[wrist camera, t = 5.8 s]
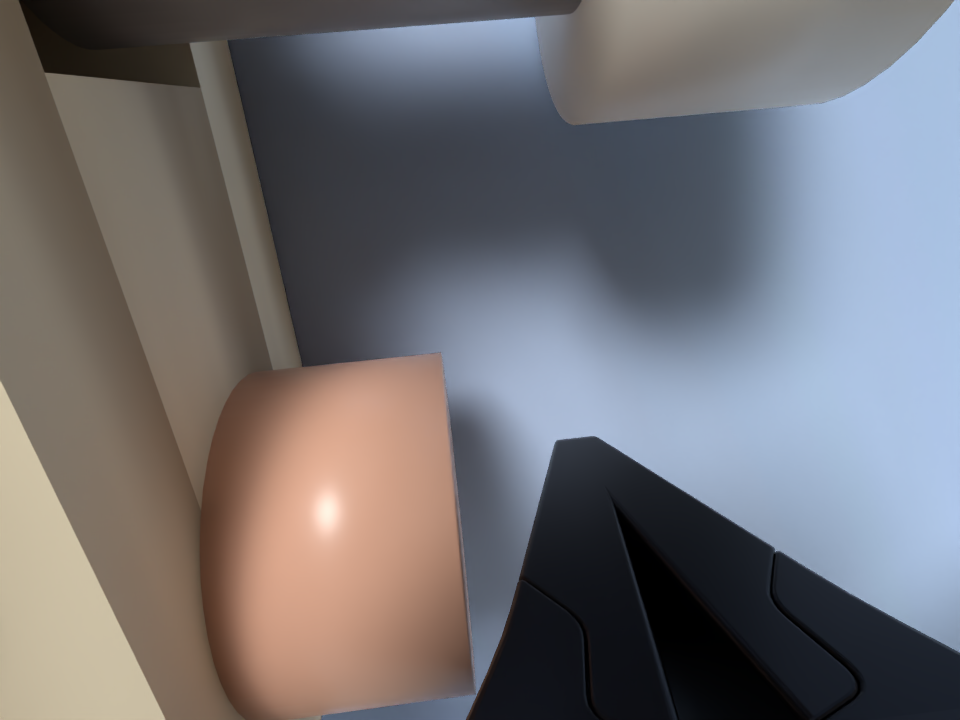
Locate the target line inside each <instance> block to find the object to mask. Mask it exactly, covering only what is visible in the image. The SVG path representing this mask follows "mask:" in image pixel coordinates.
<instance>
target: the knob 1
mask: <svg viewBox="0 0 960 720" xmlns="http://www.w3.org/2000/svg"><path fill="white" fill-rule="evenodd" d="M200 577H201V590H202V601H203V611H204V617H205V623H206V630H207V636H208V641H209V645H210V649H211V653H212V657H213V662H214V665H215V668H216V671H217V674H218V677H219V680H220V683H221V685H222V687H223V689H224V691H225V693H226V695H227V697H228V699H229V701H230V703H231V704H232V705H233V707H234V708H235V710H236V711H237V713H238V714H240V715H241V716H242V717H243V718H244V719H245V720H292V719H299V718H306V717H314V716H321V715H328V714H336V713H343V712H350V711H358V710H365V709H372V708H380V707H387V706H394V705H402V704H409V703H416V702H424V701H431V700H438V699H446V698H453V697H461V696H468V695H475V694H476V686H475V670H474V656H473V644H472V632H471V620H470V609H469V598H468V588H467V577H466V566H465V556H464V546H463V536H462V526H461V516H460V506H459V496H458V487H457V477H456V468H455V459H454V450H453V441H452V432H451V423H450V414H449V406H448V397H447V389H446V381H445V374H444V366H443V360H442V354H441V352H440V353H430V354H421V355H411V356H402V357H392V358H383V359H373V360H364V361H354V362H345V363H335V364H326V365H316V366H307V367H297V368H288V369H278V370H269V371H259V372H254V373H251V374H248V375H247V376H246V377H244V378H243V379H242V380H240V382H239V383H238V384H237V385H236V386H235V388H234V389H233V390H232V392H231V394H230V396H229V397H228V399H227V401H226V402H225V405H224V407H223V410H222V412H221V414H220V417H219V419H218V422H217V426H216V429H215V432H214V435H213V439H212V443H211V447H210V452H209V456H208V461H207V467H206V473H205V480H204V486H203V496H202V507H201V518H200Z"/></svg>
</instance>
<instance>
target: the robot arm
mask: <svg viewBox="0 0 960 720" xmlns="http://www.w3.org/2000/svg"><path fill="white" fill-rule="evenodd" d="M466 720H960V653H959V652H957V651H955V650H953V649H952V648H950V647H948V646H946V645H944V644H942V643H940V642H938V641H937V640H935V639H933V638H931V637H929V636H927V635H925V634H923V633H921V632H920V631H918V630H916V629H914V628H912V627H910V626H908V625H906V624H904V623H903V622H901V621H899V620H897V619H895V618H893V617H892V616H890V615H888V614H886V613H884V612H883V611H881V610H879V609H877V608H875V607H873V606H872V605H870V604H868V603H866V602H864V601H863V600H861V599H859V598H857V597H855V596H853V595H852V594H850V593H848V592H846V591H845V590H843V589H841V588H840V587H838V586H836V585H835V584H833V583H831V582H830V581H828V580H826V579H825V578H823V577H821V576H820V575H818V574H816V573H815V572H813V571H811V570H810V569H808V568H806V567H805V566H803V565H801V564H800V563H798V562H797V561H795V560H793V559H792V558H790V557H789V556H787V555H785V554H784V553H782V552H780V551H777V552H775V549H774V547H772V546H771V545H769V544H767V543H766V542H764V541H763V540H761V539H759V538H758V537H756V536H755V535H753V534H751V533H750V532H748V531H747V530H745V529H743V528H742V527H740V526H739V525H737V524H735V523H734V522H732V521H731V520H729V519H727V518H726V517H724V516H723V515H721V514H719V513H718V512H716V511H715V510H713V509H711V508H710V507H708V506H707V505H705V504H703V503H702V502H700V501H699V500H697V499H695V498H694V497H692V496H691V495H689V494H687V493H686V492H684V491H683V490H681V489H679V488H678V487H676V486H675V485H673V484H671V483H670V482H668V481H667V480H665V479H663V478H662V477H660V476H659V475H657V474H655V473H654V472H652V471H651V470H649V469H647V468H646V467H644V466H643V465H641V464H639V463H638V462H636V461H635V460H633V459H631V458H630V457H628V456H627V455H625V454H623V453H622V452H620V451H619V450H617V449H615V448H614V447H612V446H611V445H609V444H607V443H606V442H604V441H603V440H601V439H599V438H597V437H595V436H590V437H581V438H572V439H563V440H557V441H556V442H555V444H554V448H553V452H552V456H551V459H550V463H549V467H548V471H547V475H546V478H545V482H544V486H543V490H542V493H541V497H540V501H539V505H538V509H537V512H536V516H535V520H534V524H533V528H532V531H531V535H530V539H529V543H528V547H527V550H526V554H525V558H524V562H523V566H522V569H521V573H520V577H519V582H518V583H517V587H516V591H515V594H514V598H513V602H512V605H511V609H510V612H509V615H508V618H507V621H506V624H505V628H504V631H503V634H502V637H501V639H500V642H499V644H498V647H497V649H496V652H495V654H494V657H493V659H492V662H491V664H490V667H489V669H488V672H487V674H486V676H485V679H484V681H483V683H482V685H481V687H480V690H479V692H478V694H477V696H476V699H475V701H474V703H473V705H472V708H471V710H470V712H469V714H468V716H467V719H466Z"/></svg>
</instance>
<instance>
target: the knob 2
mask: <svg viewBox="0 0 960 720" xmlns="http://www.w3.org/2000/svg"><path fill="white" fill-rule="evenodd" d="M953 1H954V0H22V2H23V3H24V4H25V5H26V6H27V7H28V8H29V9H30V10H31V11H32V12H33V13H34V14H35V15H36V16H37V17H38V18H39V19H40V20H41V21H42V22H43V23H44V24H45V25H46V26H48V27H49V28H50V29H51V30H52V31H53V32H55V33H56V34H58V35H59V36H60V37H62V38H63V39H65V40H66V41H68V42H70V43H72V44H74V45H76V46H78V47H81V48H84V49H88V50H103V49H116V48H130V47H143V46H156V45H169V44H183V43H196V42H209V41H222V40H236V39H249V38H262V37H276V36H289V35H302V34H315V33H329V32H342V31H355V30H368V29H382V28H395V27H408V26H421V25H435V24H448V23H461V22H474V21H488V20H501V19H514V18H527V17H535V19H536V28H537V35H538V42H539V49H540V54H541V59H542V65H543V69H544V74H545V78H546V82H547V85H548V89H549V92H550V95H551V98H552V100H553V103H554V105H555V108H556V109H557V111H558V113H559V114H560V116H561V117H562V118H563V119H564V120H565V121H566V122H567V123H569V124H571V125H581V124H593V123H604V122H616V121H628V120H640V119H651V118H663V117H675V116H686V115H698V114H710V113H721V112H733V111H745V110H756V109H768V108H780V107H792V106H803V105H812V104H820V103H824V102H827V101H830V100H833V99H836V98H839V97H842V96H844V95H846V94H848V93H850V92H852V91H854V90H856V89H858V88H859V87H861V86H863V85H865V84H867V83H868V82H869V81H871V80H872V79H874V78H875V77H876V76H878V75H879V74H880V73H882V72H883V71H885V70H886V69H887V68H889V67H890V66H891V65H892V64H893V63H895V62H896V61H897V60H898V59H899V58H900V57H901V56H902V55H903V54H905V53H906V52H907V51H908V50H909V49H910V48H911V47H912V46H913V45H915V44H916V43H917V42H918V41H919V40H920V39H921V37H922V36H923V35H924V34H925V33H926V32H927V31H928V30H929V29H930V28H931V27H932V25H933V24H934V23H935V22H936V21H937V20H938V19H939V18H940V17H941V16H942V15H943V13H944V12H945V11H946V10H947V9H948V8H949V6H950V5H951V4H952V2H953Z"/></svg>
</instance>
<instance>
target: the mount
mask: <svg viewBox="0 0 960 720" xmlns="http://www.w3.org/2000/svg"><path fill="white" fill-rule="evenodd" d="M297 367H303V366H302V362H301V358H300V353H299V349H298V345H297V340H296V336H295V332H294V327H293V323H292V319H291V314H290V310H289V306H288V301H287V297H286V293H285V288H284V284H283V280H282V275H281V271H280V267H279V262H278V258H277V254H276V249H275V245H274V241H273V236H272V232H271V228H270V223H269V219H268V215H267V210H266V206H265V202H264V197H263V193H262V189H261V184H260V180H259V176H258V171H257V167H256V163H255V158H254V154H253V150H252V145H251V141H250V137H249V132H248V128H247V124H246V119H245V115H244V111H243V106H242V102H241V98H240V93H239V89H238V85H237V80H236V76H235V72H234V67H233V63H232V59H231V54H230V50H229V46H228V41H227V40H222V41H209V42H196V43H183V44H169V45H156V46H143V47H130V48H116V49H103V50H88V49H84V48H81V47H78V46H76V45H74V44H72V43H70V42H68V41H66V40H65V39H63V38H62V37H60V36H59V35H58V34H56V33H55V32H53V31H52V30H51V29H50V28H49V27H48V26H46V25H45V24H44V23H43V22H42V21H41V20H40V19H39V18H38V17H37V16H36V15H35V14H34V13H33V12H32V11H31V10H30V9H29V8H28V7H27V6H26V5H25V4H24V3H23V2H22V0H0V720H245V719H244V718H243V717H242V716H241V715H240V714H238V713H237V711H236V710H235V708H234V707H233V705H232V704H231V703H230V701H229V699H228V697H227V695H226V693H225V691H224V689H223V687H222V685H221V683H220V680H219V677H218V674H217V671H216V668H215V665H214V662H213V657H212V653H211V649H210V645H209V641H208V636H207V630H206V623H205V617H204V611H203V601H202V590H201V577H200V518H201V507H202V496H203V486H204V480H205V473H206V467H207V461H208V456H209V452H210V447H211V443H212V439H213V435H214V432H215V429H216V426H217V422H218V419H219V417H220V414H221V412H222V410H223V407H224V405H225V402H226V401H227V399H228V397H229V396H230V394H231V392H232V390H233V389H234V388H235V386H236V385H237V384H238V383H239V382H240V380H242V379H243V378H244V377H246V376H247V375H248V374H251V373H254V372H259V371H269V370H278V369H288V368H297ZM321 716H322V715H321ZM321 716H314V717H306V718H299V719H292V720H321Z"/></svg>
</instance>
